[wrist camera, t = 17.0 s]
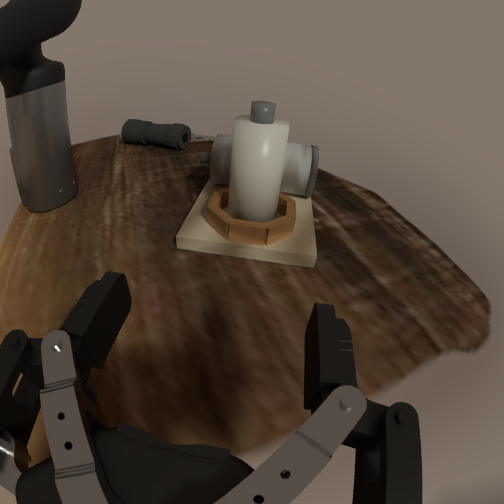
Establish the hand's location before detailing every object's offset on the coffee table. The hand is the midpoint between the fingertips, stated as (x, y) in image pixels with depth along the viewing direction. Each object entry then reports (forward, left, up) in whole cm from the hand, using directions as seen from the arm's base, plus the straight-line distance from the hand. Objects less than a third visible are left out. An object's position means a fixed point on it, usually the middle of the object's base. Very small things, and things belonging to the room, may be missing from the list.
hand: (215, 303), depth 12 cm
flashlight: (-24, +47, -10) cm, 53 cm away
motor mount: (0, +23, -10) cm, 25 cm away
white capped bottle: (0, +20, -8) cm, 21 cm away
